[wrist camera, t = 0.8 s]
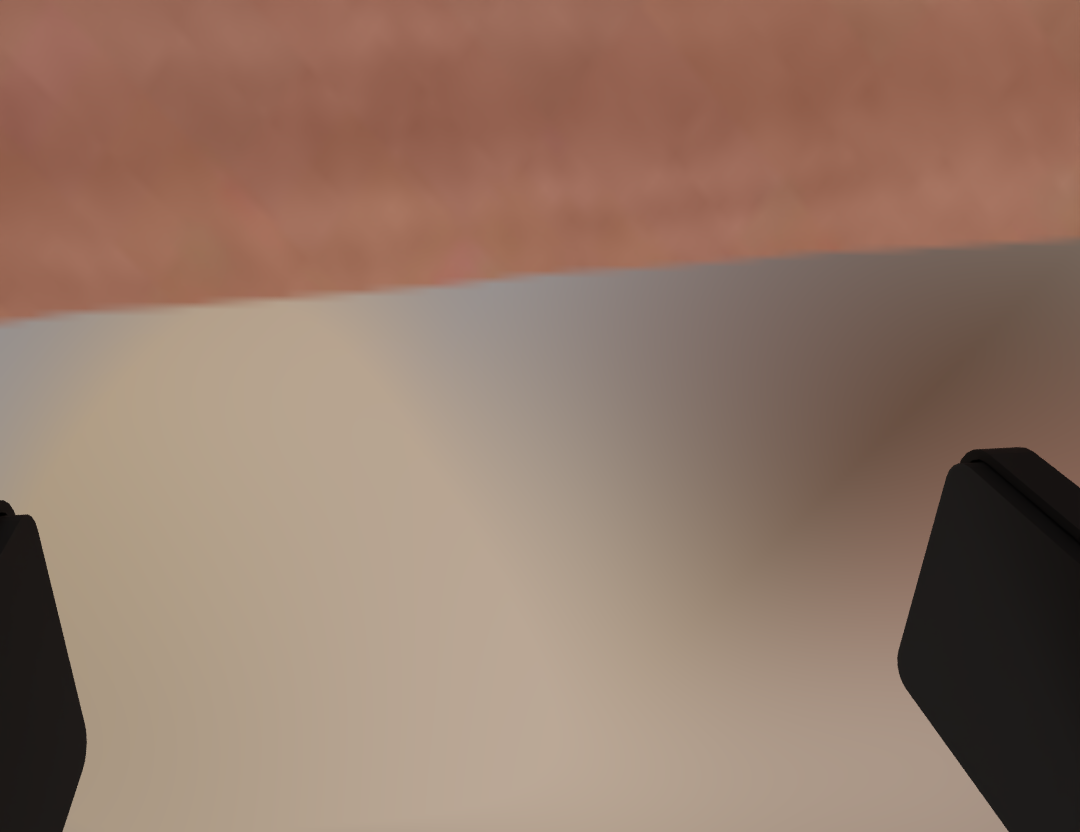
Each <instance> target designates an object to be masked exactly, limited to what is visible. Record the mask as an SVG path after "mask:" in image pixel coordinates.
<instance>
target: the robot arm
mask: <svg viewBox="0 0 1080 832" xmlns="http://www.w3.org/2000/svg"><path fill="white" fill-rule="evenodd" d="M897 659H898V670H899V674H900V677H901V680H902V682H903V684H904V686H905V688H906V689H907V691H908V692H909V694H910V695H911V696H912V698H913V699H914V700H915V702H916V703H917V704H918V706H919V707H920V709H921V710H922V711H923V713H924V714H925V716H926V717H927V718H928V720H929V721H930V722H931V724H932V726H933V727H934V728H935V730H936V731H937V732H938V734H939V735H940V737H941V738H942V739H943V741H944V742H945V744H946V745H947V746H948V748H949V749H950V751H951V752H952V753H953V755H954V756H955V757H956V759H957V760H958V762H959V763H960V764H961V766H962V767H963V769H964V770H965V771H966V773H967V774H968V776H969V777H970V778H971V780H972V781H973V782H974V784H975V785H976V787H977V788H978V789H979V791H980V792H981V794H982V795H983V796H984V798H985V799H986V801H987V802H988V803H989V805H990V806H991V808H992V809H993V810H994V812H995V813H996V815H997V816H998V817H999V819H1000V820H1001V821H1002V823H1003V824H1004V826H1005V827H1006V828H1007V830H1008V831H1009V832H1080V488H1079V487H1078V486H1077V485H1075V484H1074V483H1073V482H1072V481H1070V480H1069V479H1068V478H1066V477H1065V476H1064V475H1063V474H1061V473H1060V472H1059V471H1057V470H1056V469H1055V468H1054V467H1052V466H1051V465H1050V464H1048V463H1047V462H1046V461H1045V460H1043V459H1042V458H1040V457H1039V456H1038V455H1037V454H1036V453H1034V452H1033V451H1031V450H1029V449H1027V448H1020V447H1014V448H997V449H996V448H995V449H976V450H972V451H970V452H968V453H967V454H966V455H965V456H964V457H963V458H962V460H961V462H960V463H958V464H956V465H954V466H953V467H952V468H951V469H950V470H949V472H948V475H947V477H946V481H945V485H944V488H943V491H942V495H941V499H940V502H939V506H938V509H937V513H936V517H935V521H934V524H933V528H932V531H931V535H930V539H929V542H928V546H927V550H926V553H925V557H924V560H923V564H922V567H921V571H920V575H919V578H918V582H917V586H916V590H915V593H914V597H913V600H912V604H911V607H910V611H909V615H908V619H907V622H906V626H905V629H904V633H903V637H902V640H901V644H900V647H899V651H898V657H897ZM86 744H87V741H86V728H85V723H84V719H83V715H82V711H81V707H80V702H79V698H78V694H77V690H76V686H75V682H74V678H73V673H72V669H71V665H70V661H69V657H68V653H67V649H66V645H65V640H64V636H63V632H62V628H61V624H60V620H59V616H58V612H57V607H56V603H55V599H54V595H53V591H52V587H51V583H50V578H49V575H48V570H47V566H46V562H45V558H44V554H43V550H42V546H41V541H40V537H39V533H38V529H37V526H36V523H35V521H34V520H33V518H32V517H31V516H30V515H15V513H14V510H13V509H12V507H11V506H10V504H9V503H7V502H5V501H4V500H2V501H1V500H0V832H62V831H63V828H64V825H65V822H66V819H67V816H68V813H69V810H70V807H71V804H72V801H73V798H74V795H75V791H76V788H77V785H78V782H79V779H80V776H81V773H82V770H83V766H84V762H85V756H86Z"/></svg>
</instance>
